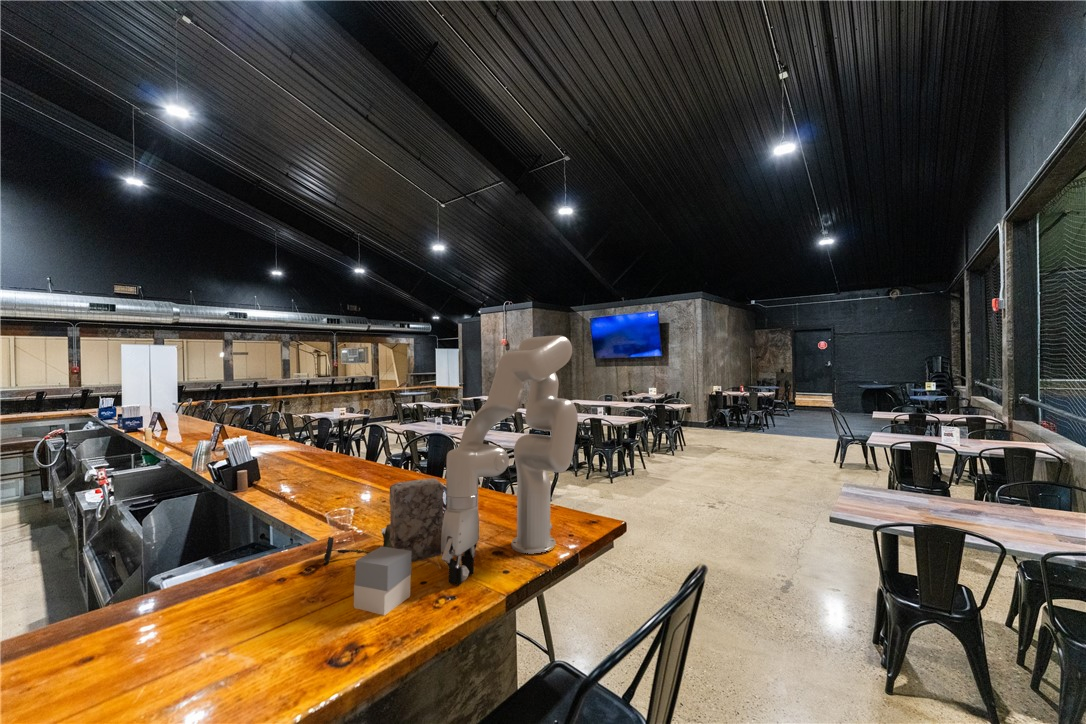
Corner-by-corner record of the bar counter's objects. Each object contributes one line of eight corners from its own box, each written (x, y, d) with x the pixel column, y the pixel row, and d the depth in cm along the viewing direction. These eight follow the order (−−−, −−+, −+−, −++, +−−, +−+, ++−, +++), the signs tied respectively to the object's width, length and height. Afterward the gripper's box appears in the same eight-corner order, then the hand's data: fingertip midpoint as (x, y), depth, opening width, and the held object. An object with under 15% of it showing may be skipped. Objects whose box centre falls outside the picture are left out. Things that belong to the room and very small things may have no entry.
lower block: (381, 590, 96) (381, 568, 96) (410, 597, 93) (410, 574, 93) (353, 608, 88) (354, 584, 89) (384, 616, 85) (384, 591, 86)
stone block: (395, 568, 106) (396, 488, 107) (386, 559, 112) (388, 482, 112) (444, 555, 114) (445, 480, 115) (434, 547, 120) (435, 476, 121)
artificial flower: (321, 562, 113) (327, 522, 117) (408, 557, 123) (411, 520, 126) (321, 565, 106) (327, 523, 109) (413, 560, 115) (417, 521, 118)
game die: (455, 584, 98) (455, 571, 98) (452, 577, 102) (452, 565, 102) (470, 581, 100) (470, 568, 100) (466, 575, 103) (466, 562, 103)
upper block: (380, 568, 96) (381, 546, 96) (411, 573, 93) (411, 550, 93) (355, 585, 88) (355, 560, 88) (387, 591, 86) (387, 566, 86)
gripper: (467, 490, 111) (467, 561, 110) (427, 509, 95) (425, 592, 94) (493, 493, 108) (492, 566, 107) (455, 513, 92) (454, 599, 91)
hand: (461, 577), depth 101 cm, fingers open, 4 cm apart
